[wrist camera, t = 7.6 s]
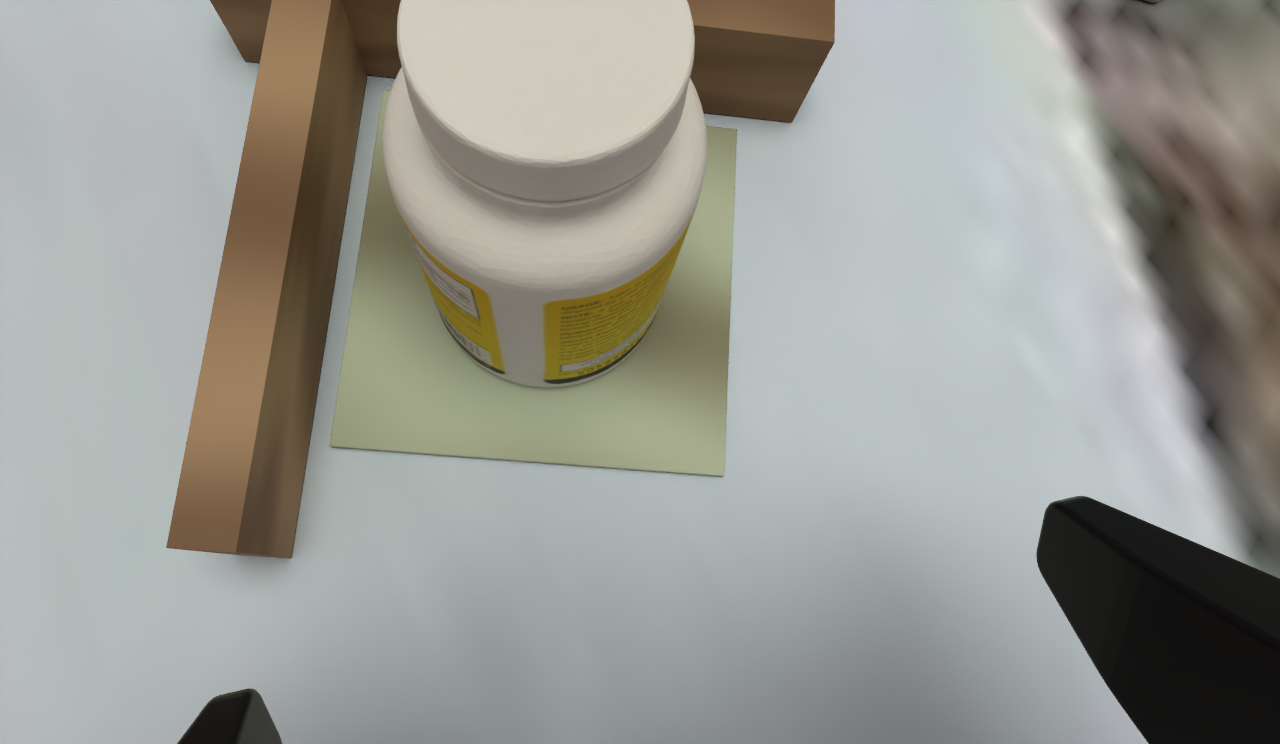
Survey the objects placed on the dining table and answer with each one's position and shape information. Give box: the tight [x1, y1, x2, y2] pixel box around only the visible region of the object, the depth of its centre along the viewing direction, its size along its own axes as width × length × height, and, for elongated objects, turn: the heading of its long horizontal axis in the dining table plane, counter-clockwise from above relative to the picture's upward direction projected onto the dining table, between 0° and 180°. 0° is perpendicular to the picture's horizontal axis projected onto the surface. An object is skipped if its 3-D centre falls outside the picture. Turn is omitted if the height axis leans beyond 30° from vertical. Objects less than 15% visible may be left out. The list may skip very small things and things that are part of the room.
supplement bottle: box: [382, 0, 707, 387], centre depth 16 cm, size 5×5×10 cm
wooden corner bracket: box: [166, 0, 835, 558], centre depth 19 cm, size 13×14×4 cm
